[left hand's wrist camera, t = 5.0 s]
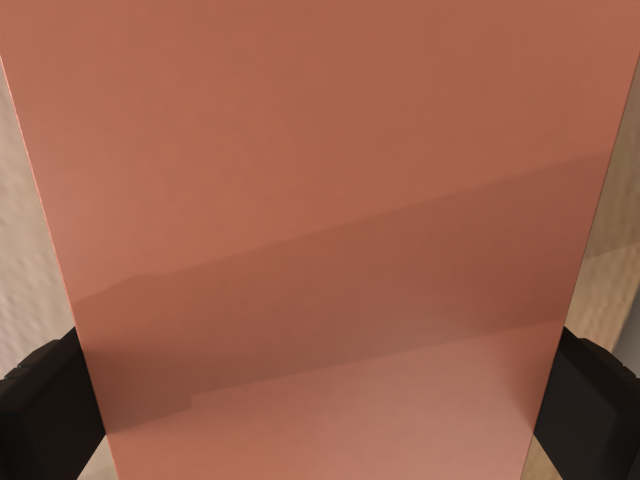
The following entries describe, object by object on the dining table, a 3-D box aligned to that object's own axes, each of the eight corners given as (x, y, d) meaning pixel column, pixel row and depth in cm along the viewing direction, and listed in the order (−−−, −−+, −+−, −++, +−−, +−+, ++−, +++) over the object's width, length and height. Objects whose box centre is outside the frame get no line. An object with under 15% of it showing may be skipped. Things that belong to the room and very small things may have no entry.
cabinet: (154, -123, 12) (-190, -595, 4) (483, -123, 12) (825, -591, 4) (209, 311, 18) (117, 483, 10) (429, 310, 18) (521, 483, 10)
